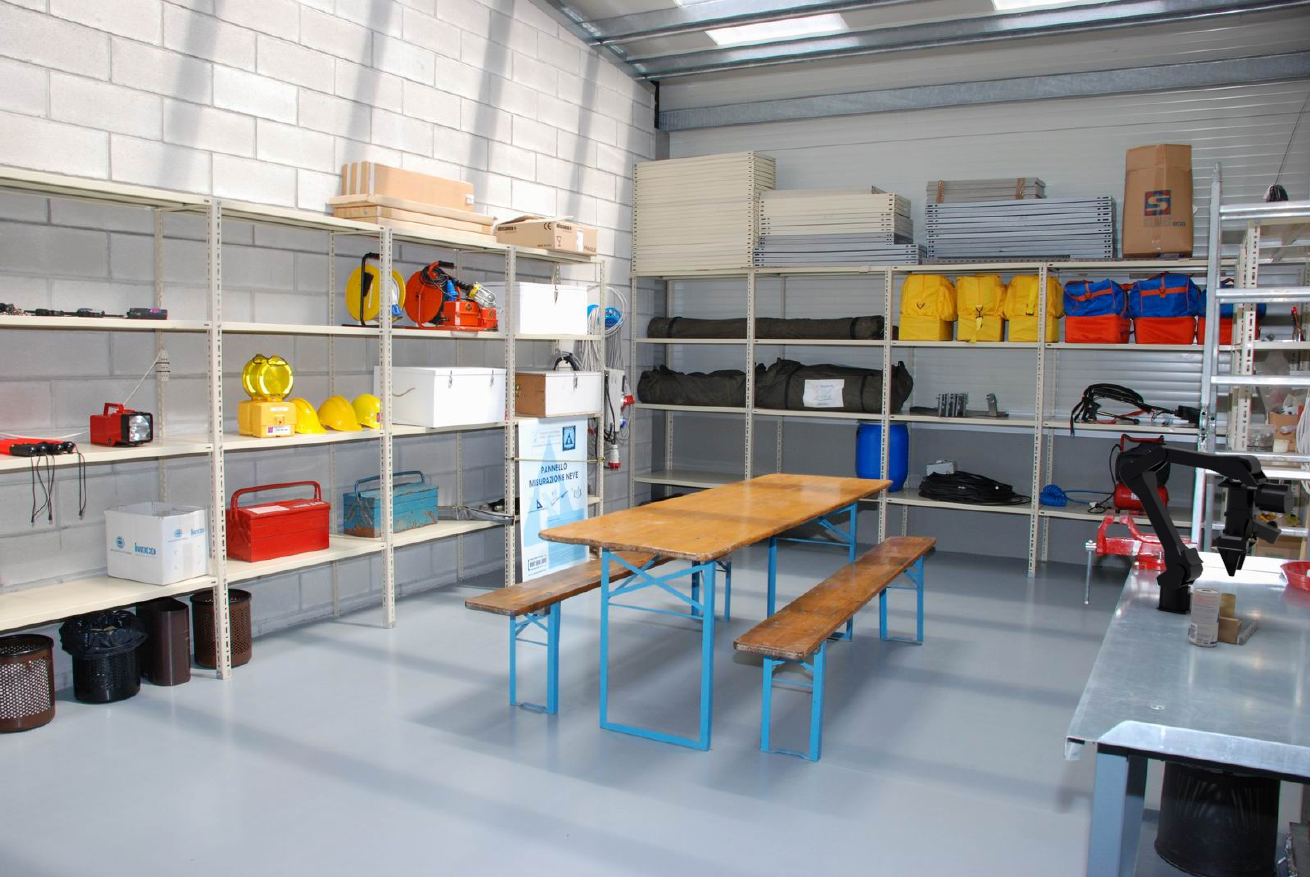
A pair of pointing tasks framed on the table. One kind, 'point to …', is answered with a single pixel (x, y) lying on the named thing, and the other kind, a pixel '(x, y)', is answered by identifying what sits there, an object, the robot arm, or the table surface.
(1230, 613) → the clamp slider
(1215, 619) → the energy drink
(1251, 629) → the clamp rails
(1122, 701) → the table surface
